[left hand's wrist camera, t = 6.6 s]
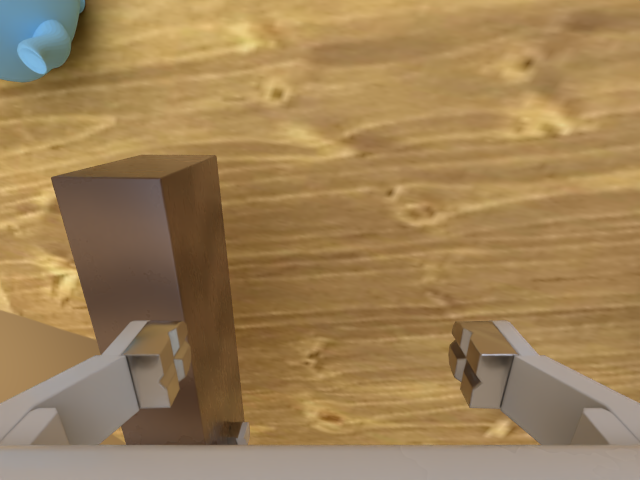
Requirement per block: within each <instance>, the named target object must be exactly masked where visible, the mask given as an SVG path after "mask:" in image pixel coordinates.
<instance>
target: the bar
mask: <svg viewBox="0 0 640 480" xmlns="http://www.w3.org/2000/svg"><path fill="white" fill-rule="evenodd" d="M51 180H52V183H53V187H54V190H55V194H56V198H57V201H58V205H59V208H60V212H61V215H62V219H63V222H64V226H65V229H66V233H67V236H68V240H69V244H70V247H71V251H72V254H73V258H74V261H75V265H76V268H77V272H78V275H79V279H80V282H81V286H82V289H83V293H84V297H85V300H86V304H87V307H88V311H89V314H90V318H91V321H92V325H93V328H94V332H95V335H96V339H97V342H98V346H99V349H100V353H101V355H102V353H103V352H104V351H105V350H106V349H107V348H108V347H109V346H110V344H111V343H112V342H113V341H114V340H115V339H116V338H117V337H118V335H119V334H120V333H121V332H122V331H123V330H124V329H125V328H126V326H127V325H128V324H129V323H130V322H132V321H135V320H149V321H151V320H154V321H184V322H185V323H186V325H187V330H188V334H187V336H186V338H185V340H186V341H187V342H188V343H189V344H190V347H191V363H190V368H189V371H188V373H187V375H186V377H185V378H184V379H183V380H181V381H180V382H179V388H180V390H179V392H178V394H177V396H176V398H175V400H174V402H173V404H172V406H171V408H145V409H139V411H138V412H137V413H136V414H135V415H133V416H132V417H131V418H130V419H129V420H127V421H126V422H125V423H124V424H123V425H122V426H121V427H122V431H123V434H124V438H125V442H126V445H228V444H227V435H228V432H229V430H230V429H231V428H230V426H231V423H232V422H244V413H243V404H242V394H241V385H240V375H239V366H238V356H237V347H236V337H235V328H234V319H233V309H232V300H231V290H230V281H229V271H228V262H227V252H226V243H225V233H224V224H223V215H222V205H221V196H220V186H219V177H218V167H217V158H216V156H215V155H139V156H135V157H131V158H127V159H123V160H119V161H115V162H111V163H107V164H102V165H98V166H94V167H90V168H86V169H82V170H78V171H74V172H70V173H66V174H62V175H58V176H54V177H51Z"/></svg>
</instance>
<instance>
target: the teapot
mask: <svg viewBox="0 0 640 480" xmlns="http://www.w3.org/2000/svg"><path fill="white" fill-rule="evenodd" d="M84 7H85V0H0V79H3V80H7V81H15V82H30V81H33V80H36V79H39V78H41V77H42V76H44V75H46V74H47V73H48V72H49V71H50V70H52V69H53V68H57V67H60V66H61V65H63V64H64V63H65V61H66V60H67V58H68V56H69V54H70V51H71V42H72V40H73V37H74V35H75V31H76V28H77V23H78V18H79V14H80V13H81V12H82V11H83V10H84Z"/></svg>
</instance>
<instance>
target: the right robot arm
mask: <svg viewBox="0 0 640 480" xmlns="http://www.w3.org/2000/svg"><path fill="white" fill-rule="evenodd" d="M230 428H231V429H230V430H229V432H228V435H227V444H228V445H248V442H249V437H250V427H249V422H232V423H231V426H230Z"/></svg>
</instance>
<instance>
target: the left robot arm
mask: <svg viewBox="0 0 640 480" xmlns="http://www.w3.org/2000/svg"><path fill="white" fill-rule="evenodd" d="M187 334H188V330H187V325H186V323H185V322H184V321H154V320H151V321H149V320H135V321H132V322H130V323H129V324H128V325H127V326H126V328H125V329H124V330H123V331H122V332H121V333H120V334H119V335H118V337H117V338H116V339H115V340H114V341H113V342H112V343H111V344H110V346H109V347H108V348H107V349H106V350H105V351H104V352H103V353H102V355H95V356H93V357H91V358H89V359H87V360H85V361H83V362H81V363H79V364H77V365H75V366H73V367H71V368H69V369H67V370H65V371H63V372H62V373H60V374H57V375H56V376H54V377H52V378H50V379H48V380H46V381H44V382H42V383H40V384H38V385H36V386H34V387H32V388H30V389H28V390H26V391H24V392H22V393H20V394H18V395H16V396H14V397H12V398H10V399H8V400H6V401H4V402H2V403H0V480H640V403H638V402H636V401H634V400H632V399H630V398H628V397H626V396H624V395H622V394H620V393H618V392H616V391H614V390H612V389H610V388H608V387H606V386H604V385H602V384H600V383H598V382H596V381H594V380H592V379H590V378H588V377H586V376H584V375H582V374H580V373H578V372H576V371H574V370H572V369H571V368H569V367H567V366H565V365H563V364H561V363H559V362H557V361H555V360H553V359H551V358H549V357H547V356H545V355H538V353H537V352H536V351H535V350H534V349H533V348H532V347H531V346H530V344H529V343H528V342H527V341H526V340H525V339H524V338H523V337H522V335H521V334H520V333H519V332H518V331H517V330H516V329H515V328H514V326H513V325H512V324H511V323H510V322H508V321H506V320H495V321H459V322H455V323H454V325H453V329H452V334H453V336H454V338H455V340H454V341H453V342H452V343H451V344H450V347H449V365H450V368H451V371H452V373H453V375H454V377H455V378H456V379H457V380H459V381H460V382H461V388H460V390H461V392H462V394H463V396H464V398H465V400H466V402H467V404H468V406H469V408H494V409H501V411H502V412H503V413H504V414H506V415H507V416H508V417H509V418H510V419H512V420H513V421H514V422H515V423H516V424H517V425H519V426H520V427H521V428H522V429H523V430H525V431H526V432H527V433H528V434H529V435H530V436H532V437H533V438H534V439H535V440H536V441H538V442H539V443H540V444H541V445H99V444H100V443H101V442H103V441H104V440H105V439H106V438H107V437H108V436H110V435H111V434H112V433H113V432H114V431H116V430H117V429H118V428H119V427H120V426H122V425H123V424H124V423H125V422H126V421H127V420H129V419H130V418H131V417H132V416H133V415H135V414H136V413H137V412H138V411H139V409H145V408H171V406H172V404H173V402H174V400H175V398H176V396H177V394H178V392H179V390H180V388H179V382H180V381H181V380H183V379H184V378H185V377H186V375H187V373H188V371H189V368H190V363H191V347H190V344H189V343H188V342H187V341H186V340H185V338H186V336H187Z"/></svg>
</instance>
